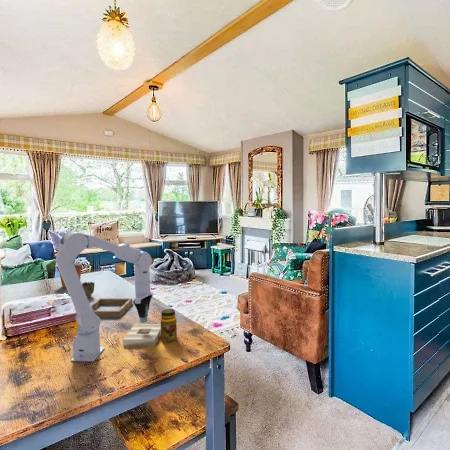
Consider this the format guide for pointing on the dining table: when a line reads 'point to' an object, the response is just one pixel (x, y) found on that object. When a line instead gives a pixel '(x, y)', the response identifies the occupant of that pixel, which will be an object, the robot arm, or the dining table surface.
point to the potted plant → (78, 268)
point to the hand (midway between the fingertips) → (143, 315)
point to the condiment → (168, 326)
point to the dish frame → (112, 301)
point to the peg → (145, 317)
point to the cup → (88, 288)
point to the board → (143, 335)
